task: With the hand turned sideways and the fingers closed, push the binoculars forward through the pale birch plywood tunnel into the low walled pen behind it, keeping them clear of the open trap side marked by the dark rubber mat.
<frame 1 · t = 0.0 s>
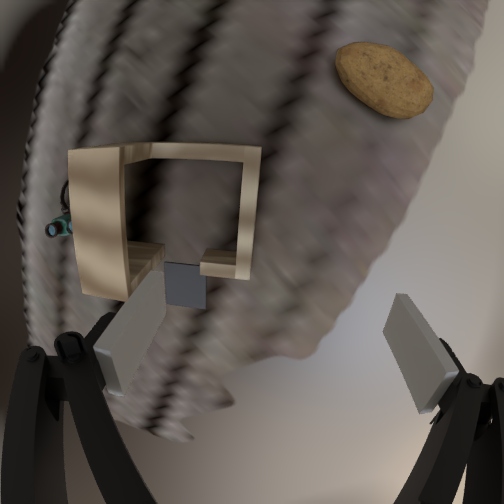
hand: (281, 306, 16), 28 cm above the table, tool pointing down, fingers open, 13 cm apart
potato: (372, 83, 34), on the table
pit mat: (185, 285, 48), on the table
tunnel: (142, 200, 42), on the table
binoculars: (94, 197, 43), on the table
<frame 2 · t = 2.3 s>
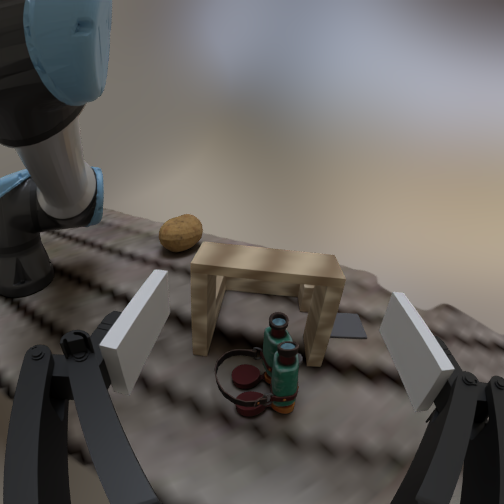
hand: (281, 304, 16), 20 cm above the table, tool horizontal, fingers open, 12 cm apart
potato: (180, 250, 72), on the table
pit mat: (340, 325, 48), on the table
tunnel: (258, 346, 42), on the table
binoculars: (254, 396, 33), on the table
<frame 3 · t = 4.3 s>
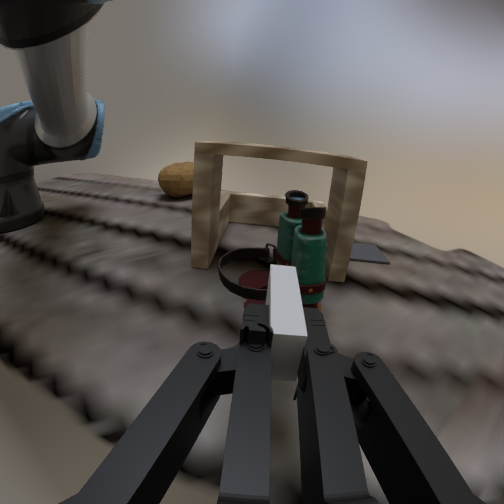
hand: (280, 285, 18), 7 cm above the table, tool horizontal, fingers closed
potato: (179, 197, 67), on the table
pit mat: (358, 252, 43), on the table
tunnel: (268, 262, 37), on the table
binoculars: (268, 306, 28), on the table
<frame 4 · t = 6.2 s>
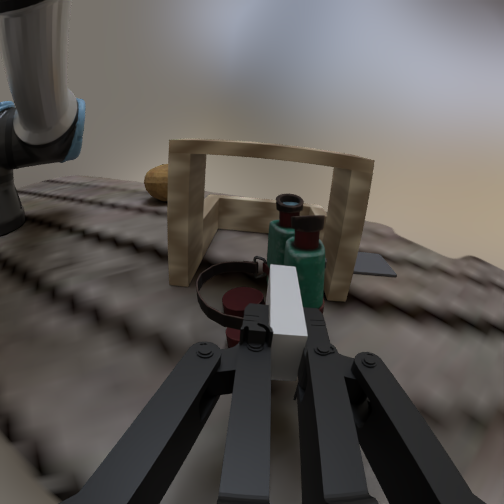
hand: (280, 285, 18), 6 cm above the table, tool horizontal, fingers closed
potato: (168, 200, 62), on the table
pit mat: (362, 263, 38), on the table
tunnel: (259, 278, 32), on the table
binoculars: (255, 330, 24), on the table, touching gripper
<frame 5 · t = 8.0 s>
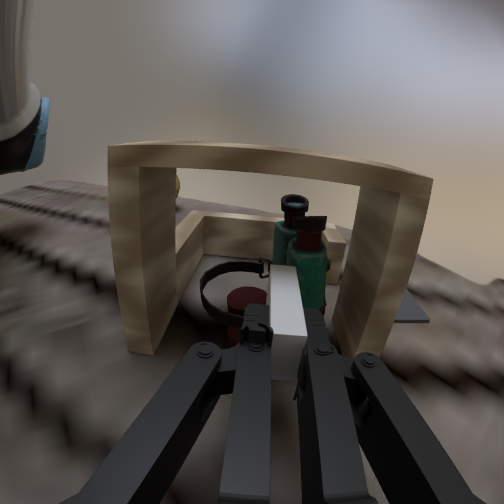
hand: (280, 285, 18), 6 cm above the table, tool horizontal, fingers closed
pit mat: (386, 303, 29), on the table
tunnel: (253, 339, 22), on the table
binoculars: (258, 330, 24), on the table, touching gripper
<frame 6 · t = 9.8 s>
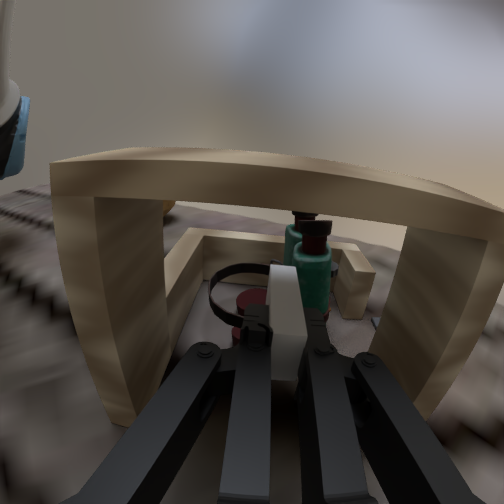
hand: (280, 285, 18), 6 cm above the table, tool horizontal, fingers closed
tunnel: (266, 404, 16), on the table
binoculars: (265, 332, 24), on the table, touching gripper
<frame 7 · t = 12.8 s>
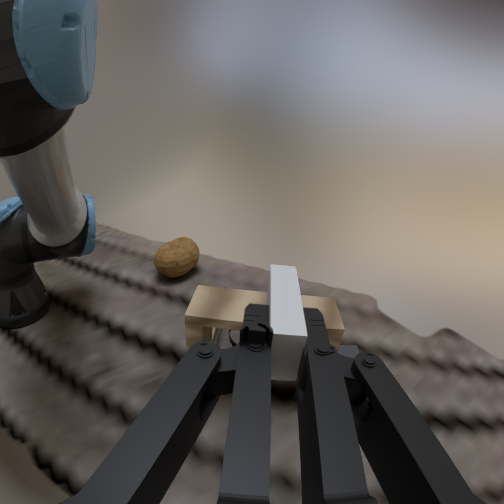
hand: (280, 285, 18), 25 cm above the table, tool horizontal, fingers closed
potato: (176, 274, 71), on the table
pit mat: (339, 359, 46), on the table
tunnel: (255, 385, 40), on the table
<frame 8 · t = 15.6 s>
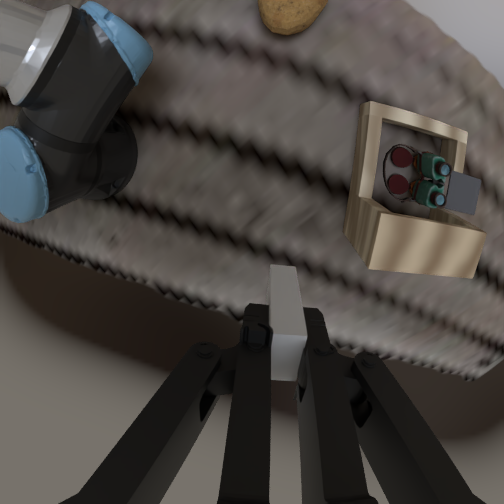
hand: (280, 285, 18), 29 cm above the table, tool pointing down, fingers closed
potato: (289, 10, 33), on the table
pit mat: (463, 193, 42), on the table
tunnel: (394, 218, 45), on the table
binoculars: (401, 172, 42), on the table
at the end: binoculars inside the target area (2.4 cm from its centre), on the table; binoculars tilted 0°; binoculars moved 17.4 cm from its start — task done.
